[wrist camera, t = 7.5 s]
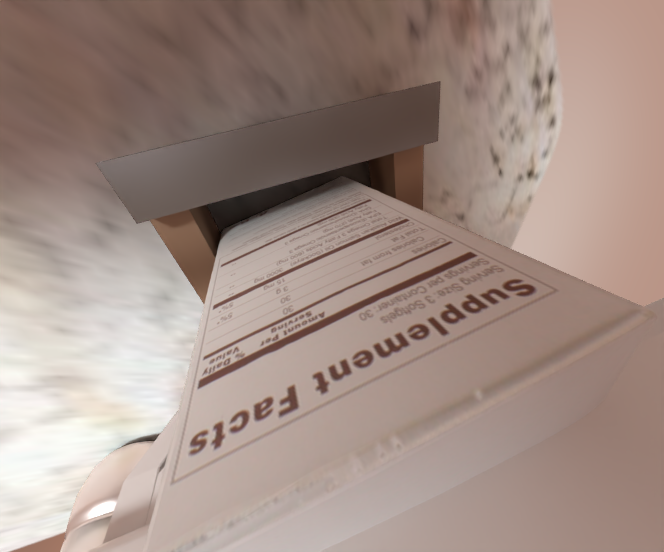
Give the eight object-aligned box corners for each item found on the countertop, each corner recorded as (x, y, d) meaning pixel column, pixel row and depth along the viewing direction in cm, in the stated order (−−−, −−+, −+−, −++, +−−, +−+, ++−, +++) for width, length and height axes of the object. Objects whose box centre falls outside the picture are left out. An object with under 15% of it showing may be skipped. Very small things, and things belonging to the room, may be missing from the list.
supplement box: (373, 274, 18) (561, 484, 7) (277, 319, 17) (330, 618, 7) (344, 170, 13) (696, 307, 3) (216, 224, 13) (97, 631, 2)
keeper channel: (141, 152, 11) (95, 163, 8) (389, 93, 12) (440, 81, 9) (289, 409, 23) (296, 456, 20) (402, 363, 25) (426, 399, 22)
